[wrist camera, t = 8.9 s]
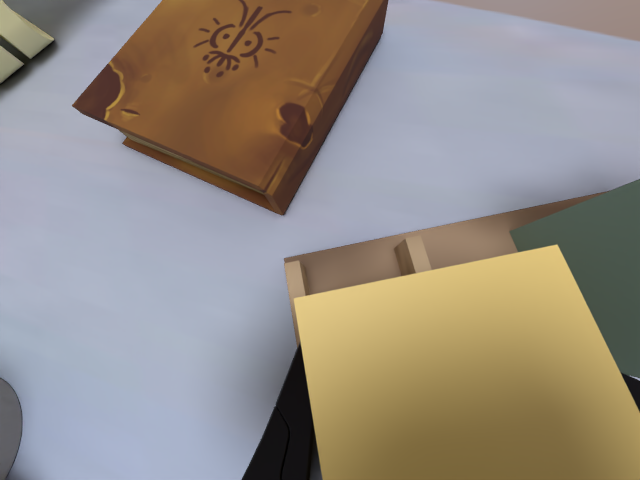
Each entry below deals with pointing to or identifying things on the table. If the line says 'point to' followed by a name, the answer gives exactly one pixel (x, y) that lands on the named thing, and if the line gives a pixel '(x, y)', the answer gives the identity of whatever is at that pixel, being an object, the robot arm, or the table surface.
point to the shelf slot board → (410, 252)
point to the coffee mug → (9, 427)
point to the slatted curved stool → (18, 40)
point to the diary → (237, 87)
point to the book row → (600, 263)
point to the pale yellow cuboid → (467, 377)
